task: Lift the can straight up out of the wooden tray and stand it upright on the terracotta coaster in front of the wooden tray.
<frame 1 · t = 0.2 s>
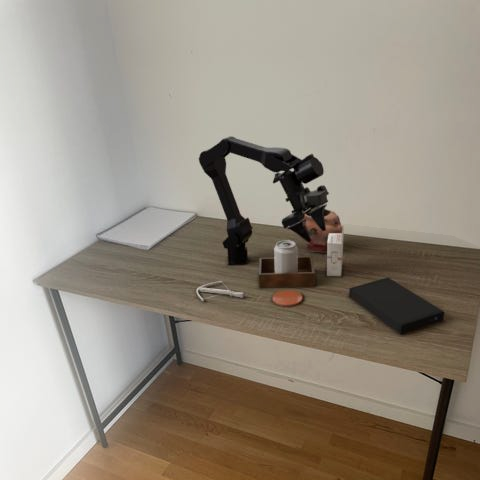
hand: (317, 236, 143), 15 cm above the table, tool tilted 30°, fingers open, 9 cm apart
coaster: (287, 298, 141), on the table
crossbow: (220, 294, 146), on the table
wooden tray: (286, 278, 152), on the table
ink cartridge box: (333, 271, 155), on the table
decorative planter: (316, 248, 172), on the table
can: (286, 278, 152), resting on wooden tray
external hard drive: (393, 308, 133), on the table
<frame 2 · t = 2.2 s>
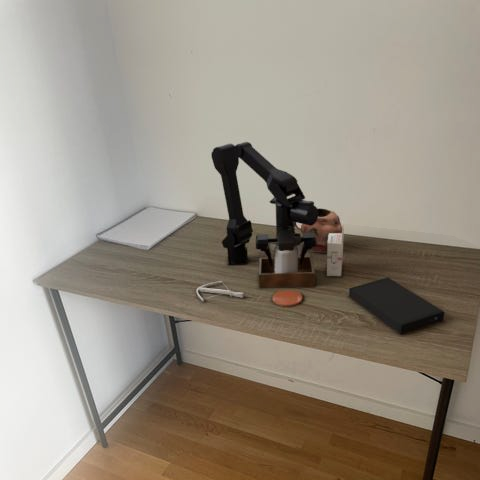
hand: (286, 265, 150), 5 cm above the table, tool pointing down
can: (286, 278, 152), resting on wooden tray, touching gripper
everything else where it was.
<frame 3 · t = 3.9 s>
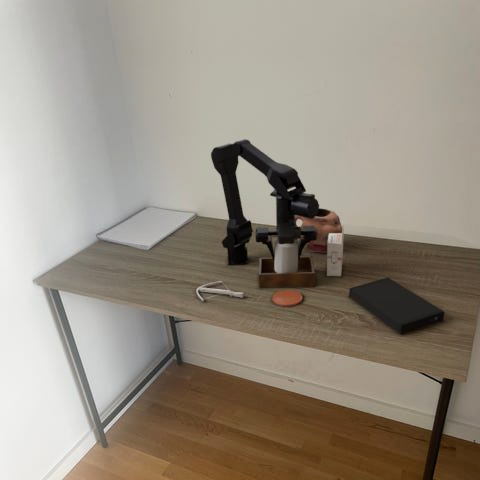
hand: (286, 259, 149), 7 cm above the table, tool pointing down, fingers closed on can, 7 cm apart
can: (285, 272, 151), point 2 cm above the table, touching gripper
everything else where it was.
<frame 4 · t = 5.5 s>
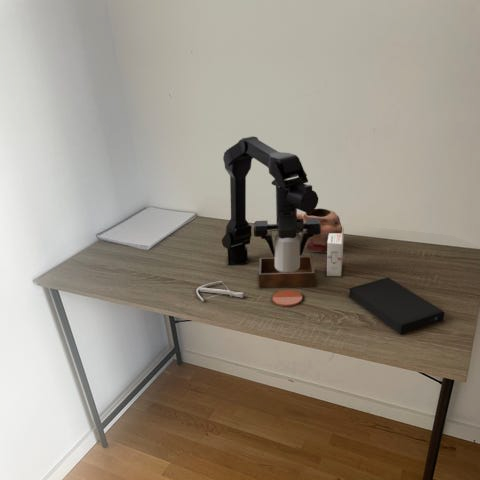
hand: (287, 255, 137), 13 cm above the table, tool pointing down, fingers closed on can, 8 cm apart
can: (287, 269, 139), point 8 cm above the table, touching gripper
everything else where it was.
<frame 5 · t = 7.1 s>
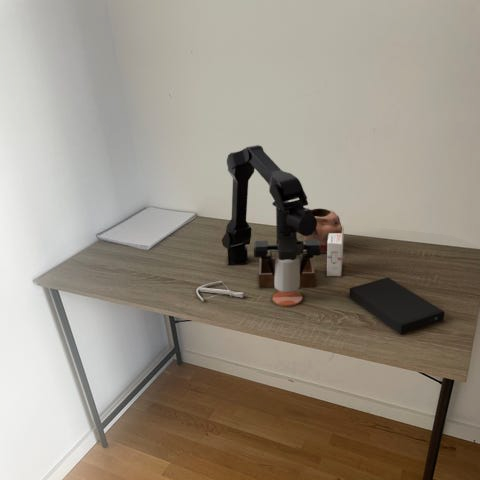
hand: (287, 274, 137), 8 cm above the table, tool pointing down, fingers closed on can, 8 cm apart
can: (286, 288, 140), point 3 cm above the table, touching gripper
everything else where it was.
when the fingers open (5 cm above the table, at t = 8.6 s): can stays where it is, resting on coaster.
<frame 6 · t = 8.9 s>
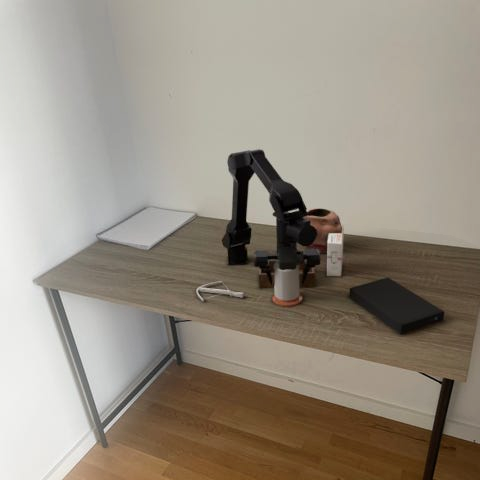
hand: (287, 283, 138), 5 cm above the table, tool pointing down, fingers open, 9 cm apart
can: (286, 297, 141), resting on coaster, touching gripper
everything else where it was.
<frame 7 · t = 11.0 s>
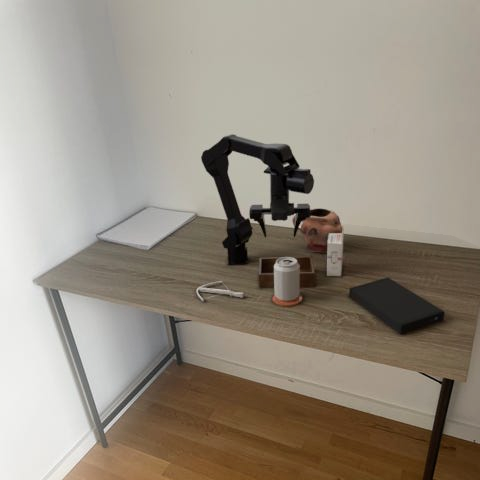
hand: (279, 236, 150), 13 cm above the table, tool pointing down, fingers open, 9 cm apart
can: (286, 297, 141), resting on coaster
everything else where it was.
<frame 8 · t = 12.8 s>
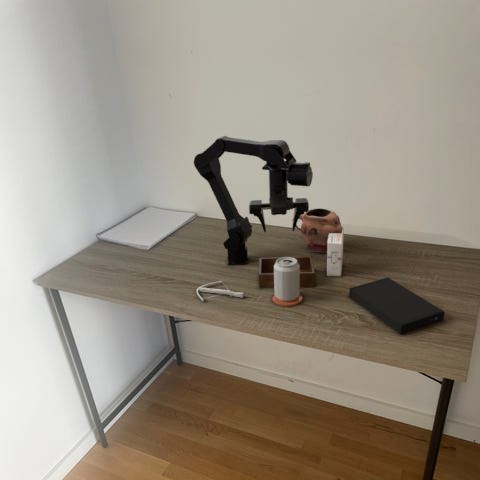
hand: (279, 231, 153), 13 cm above the table, tool pointing down, fingers open, 9 cm apart
nothing on the table moved.
at the end: can 0.3 cm off-centre on the coaster, point 0.4 cm above the coaster's base; can tilted 0°; can touching coaster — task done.
